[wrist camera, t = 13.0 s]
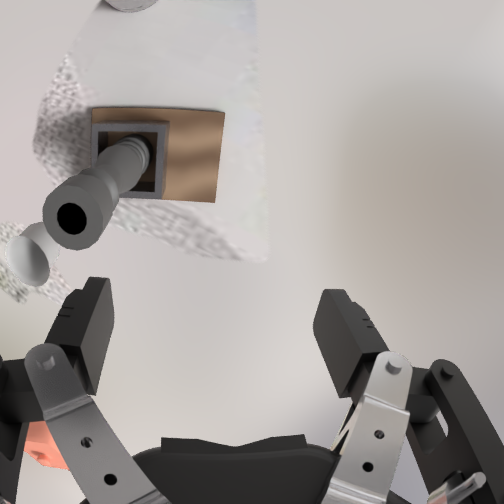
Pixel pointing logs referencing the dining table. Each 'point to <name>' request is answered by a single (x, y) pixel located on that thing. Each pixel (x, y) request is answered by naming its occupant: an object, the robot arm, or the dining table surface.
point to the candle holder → (95, 193)
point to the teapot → (43, 446)
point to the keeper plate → (178, 148)
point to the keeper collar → (162, 127)
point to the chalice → (32, 255)
